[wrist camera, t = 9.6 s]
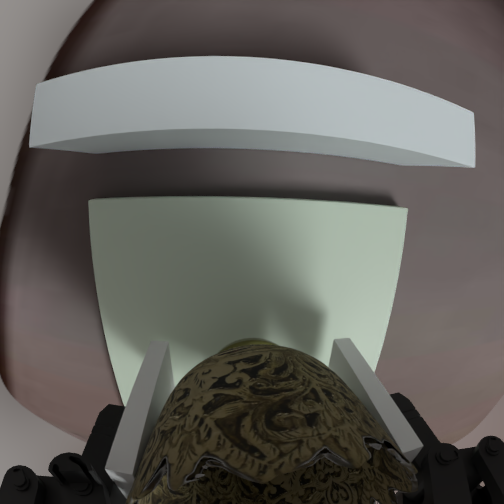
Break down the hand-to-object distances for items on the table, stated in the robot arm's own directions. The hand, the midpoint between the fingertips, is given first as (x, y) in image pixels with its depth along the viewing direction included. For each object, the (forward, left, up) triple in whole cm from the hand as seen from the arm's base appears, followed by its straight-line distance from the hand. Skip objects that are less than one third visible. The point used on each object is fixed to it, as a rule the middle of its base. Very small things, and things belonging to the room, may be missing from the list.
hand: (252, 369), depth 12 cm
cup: (0, 0, 0) cm, 0 cm away
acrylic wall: (0, -10, -2) cm, 10 cm away
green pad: (0, 0, -2) cm, 2 cm away
